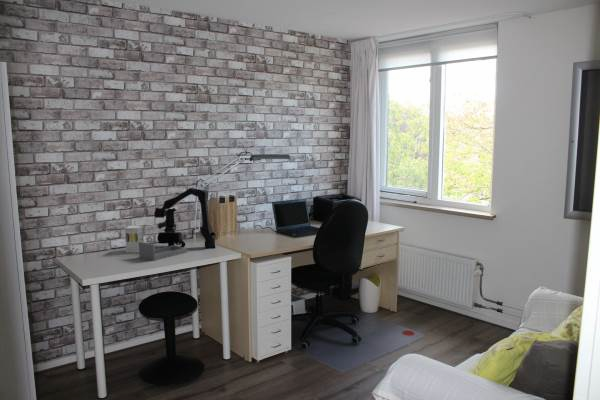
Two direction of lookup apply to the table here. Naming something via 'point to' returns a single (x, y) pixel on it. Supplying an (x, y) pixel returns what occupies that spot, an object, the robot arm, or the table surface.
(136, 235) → the supplement box
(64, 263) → the table surface
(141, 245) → the case
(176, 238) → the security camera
